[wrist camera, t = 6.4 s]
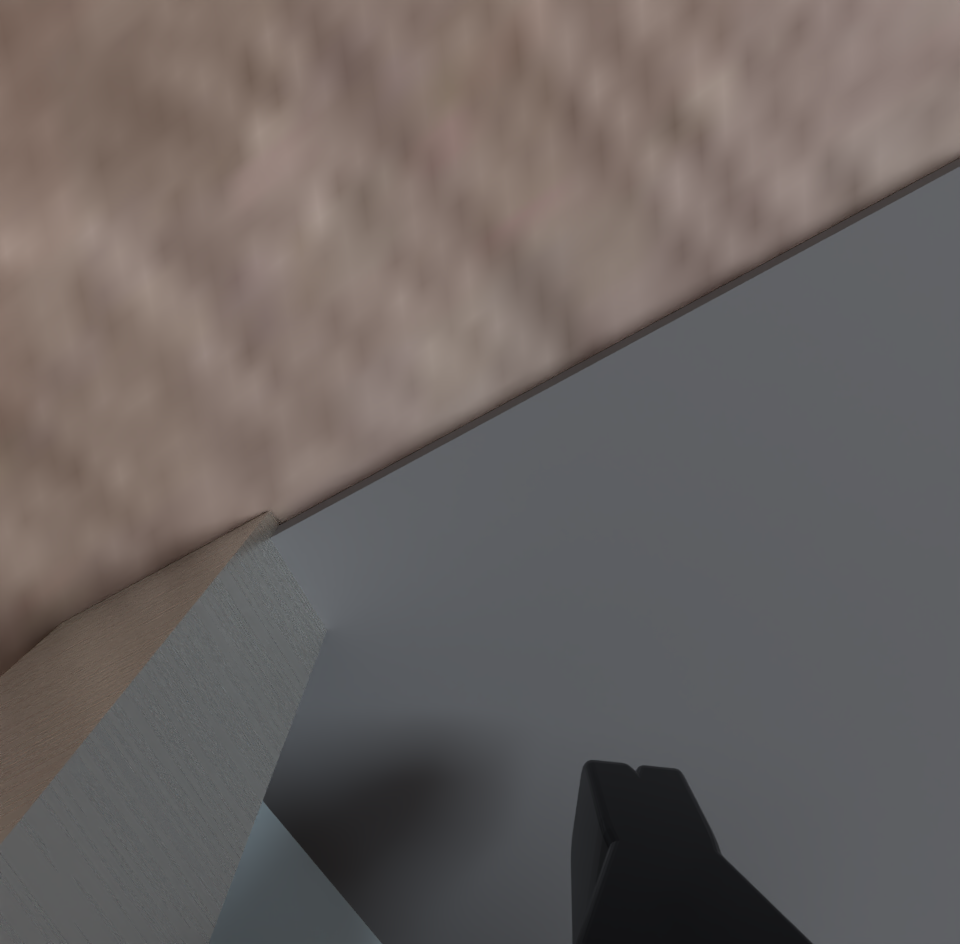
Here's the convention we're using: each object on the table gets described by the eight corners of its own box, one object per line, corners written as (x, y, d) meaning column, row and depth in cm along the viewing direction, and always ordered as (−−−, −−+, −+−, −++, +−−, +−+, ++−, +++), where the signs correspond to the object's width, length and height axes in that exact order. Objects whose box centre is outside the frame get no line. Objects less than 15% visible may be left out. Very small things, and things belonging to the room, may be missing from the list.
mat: (1344, 1051, 12) (1382, 1084, 12) (545, 1392, 13) (548, 1435, 13) (989, 141, 9) (1017, 134, 9) (28, 660, 10) (6, 680, 10)
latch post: (357, 619, 10) (96, 1478, 3) (124, 742, 11) (-645, 1808, 3) (275, 486, 10) (-252, 1093, 3) (36, 616, 10) (-1044, 1493, 3)
